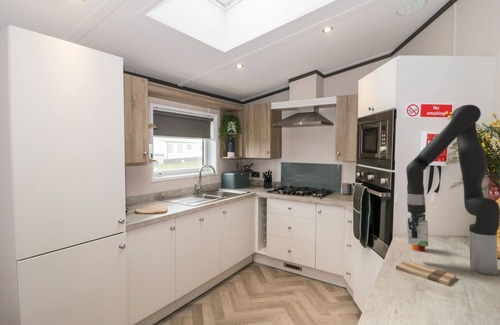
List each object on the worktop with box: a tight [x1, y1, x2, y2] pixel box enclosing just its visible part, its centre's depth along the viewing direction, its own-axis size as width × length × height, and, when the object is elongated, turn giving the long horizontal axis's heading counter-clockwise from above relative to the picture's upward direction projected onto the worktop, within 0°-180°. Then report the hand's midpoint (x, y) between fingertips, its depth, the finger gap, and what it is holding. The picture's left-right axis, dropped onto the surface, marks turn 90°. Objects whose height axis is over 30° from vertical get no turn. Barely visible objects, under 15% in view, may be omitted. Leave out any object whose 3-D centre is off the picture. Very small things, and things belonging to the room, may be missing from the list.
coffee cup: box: [411, 244, 426, 252], centre depth 142 cm, size 8×8×15 cm
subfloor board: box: [395, 259, 457, 287], centre depth 114 cm, size 10×20×2 cm, turn 35°
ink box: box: [406, 218, 429, 248], centre depth 126 cm, size 9×5×12 cm, turn 52°
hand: (417, 236), depth 126 cm, fingers closed on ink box, 6 cm apart
